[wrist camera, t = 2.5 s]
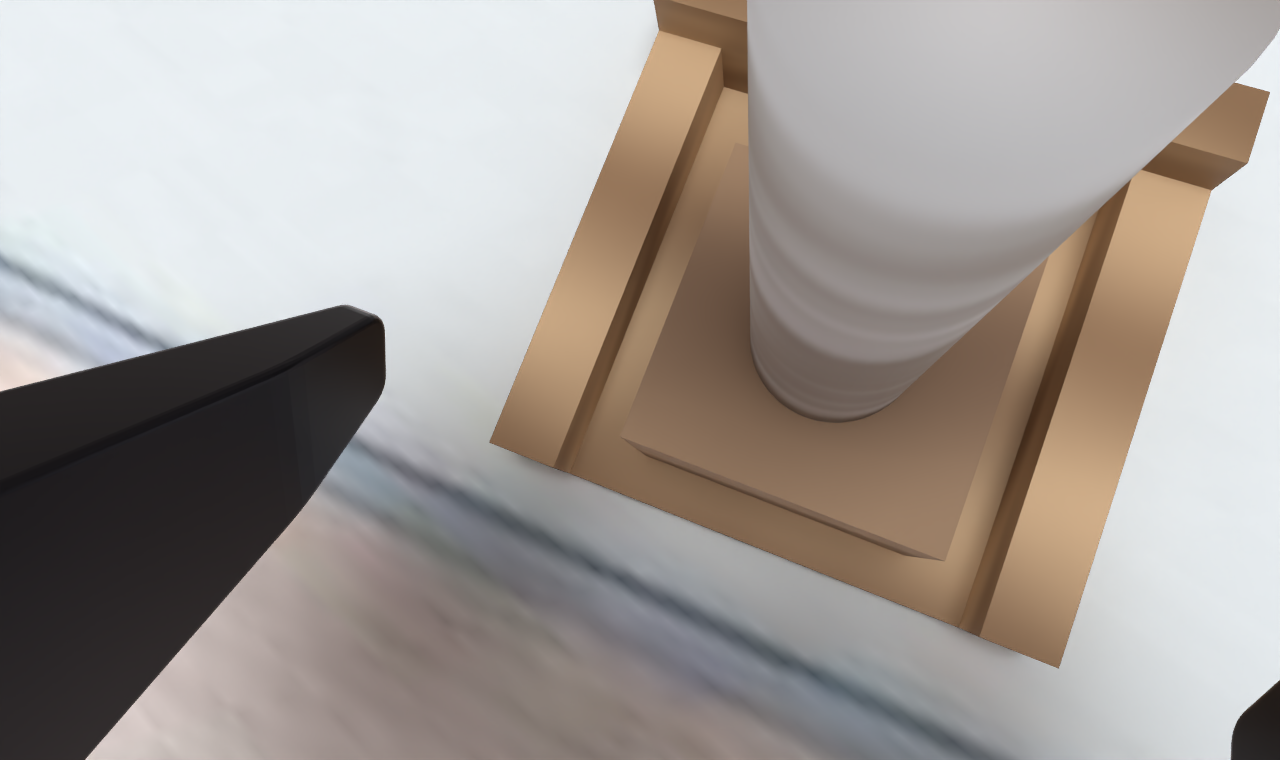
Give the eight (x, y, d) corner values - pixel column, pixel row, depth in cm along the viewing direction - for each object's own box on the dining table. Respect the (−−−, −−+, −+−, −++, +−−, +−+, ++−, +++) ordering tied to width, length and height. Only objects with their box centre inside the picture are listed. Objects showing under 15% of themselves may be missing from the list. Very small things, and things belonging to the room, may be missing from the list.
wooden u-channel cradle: (1021, 652, 18) (1084, 679, 15) (517, 452, 21) (469, 436, 17) (1178, 170, 20) (1270, 91, 16) (689, 30, 22) (678, -66, 18)
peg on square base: (904, 555, 19) (1472, 638, 4) (646, 456, 20) (337, 227, 5) (992, 300, 19) (1753, -439, 5) (739, 217, 20) (703, -595, 6)
